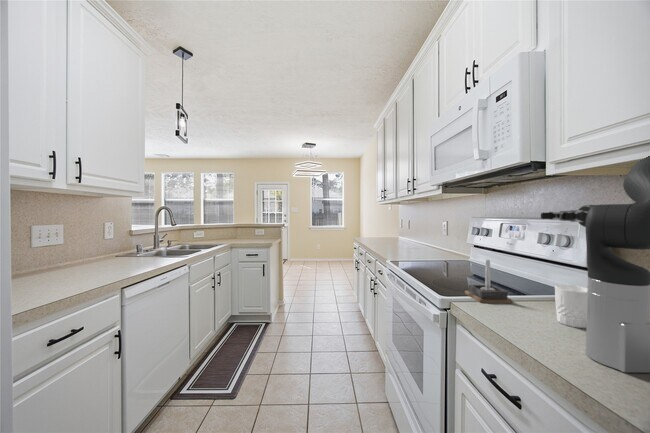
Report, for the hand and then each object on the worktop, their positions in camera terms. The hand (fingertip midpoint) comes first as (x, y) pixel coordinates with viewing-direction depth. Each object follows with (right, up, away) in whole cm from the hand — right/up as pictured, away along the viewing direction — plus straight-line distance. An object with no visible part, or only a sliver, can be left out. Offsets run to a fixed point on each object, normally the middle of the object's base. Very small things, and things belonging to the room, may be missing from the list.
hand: (551, 216), depth 95 cm
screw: (-17, -29, +8) cm, 35 cm away
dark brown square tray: (-17, -30, +8) cm, 35 cm away
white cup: (-6, -31, -15) cm, 35 cm away
